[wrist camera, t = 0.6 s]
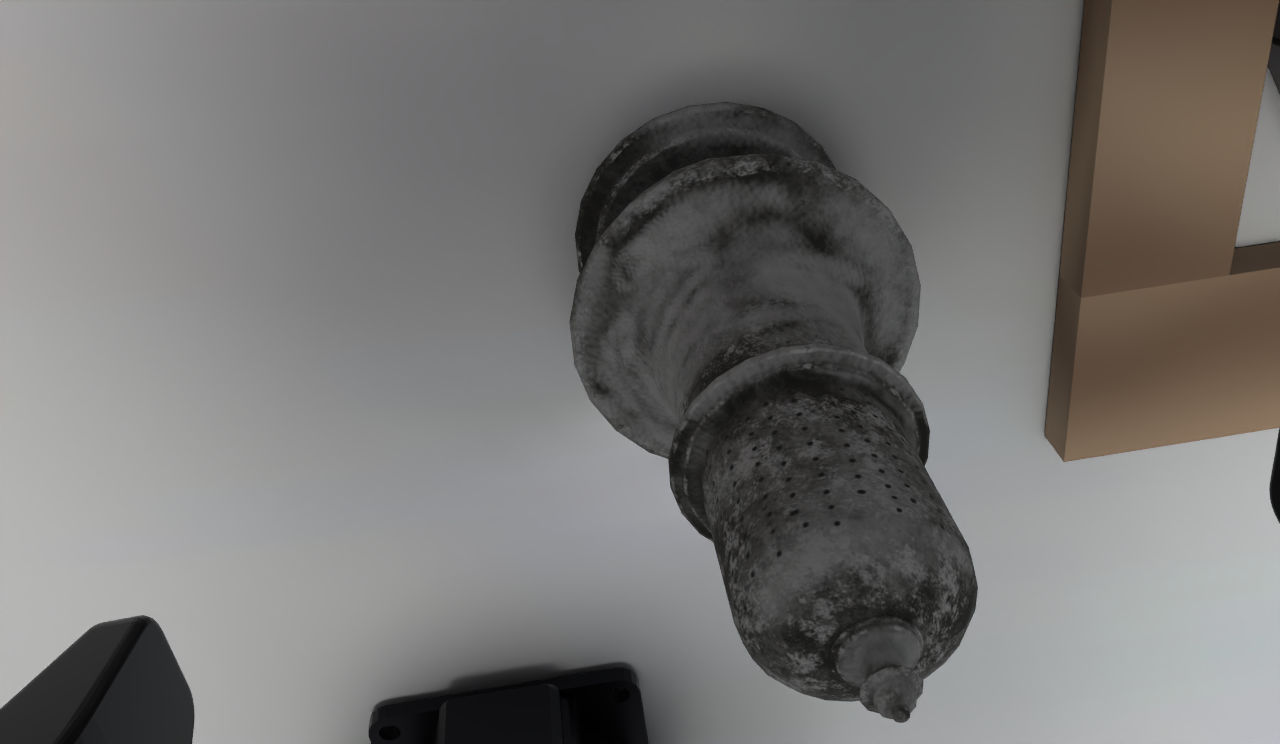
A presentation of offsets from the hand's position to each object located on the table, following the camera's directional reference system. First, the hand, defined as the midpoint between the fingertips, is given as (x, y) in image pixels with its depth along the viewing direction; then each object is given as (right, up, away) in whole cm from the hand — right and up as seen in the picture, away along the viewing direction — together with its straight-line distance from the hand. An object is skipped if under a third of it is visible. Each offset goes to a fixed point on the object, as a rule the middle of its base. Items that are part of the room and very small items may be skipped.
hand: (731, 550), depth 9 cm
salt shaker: (+1, +4, +13) cm, 14 cm away
